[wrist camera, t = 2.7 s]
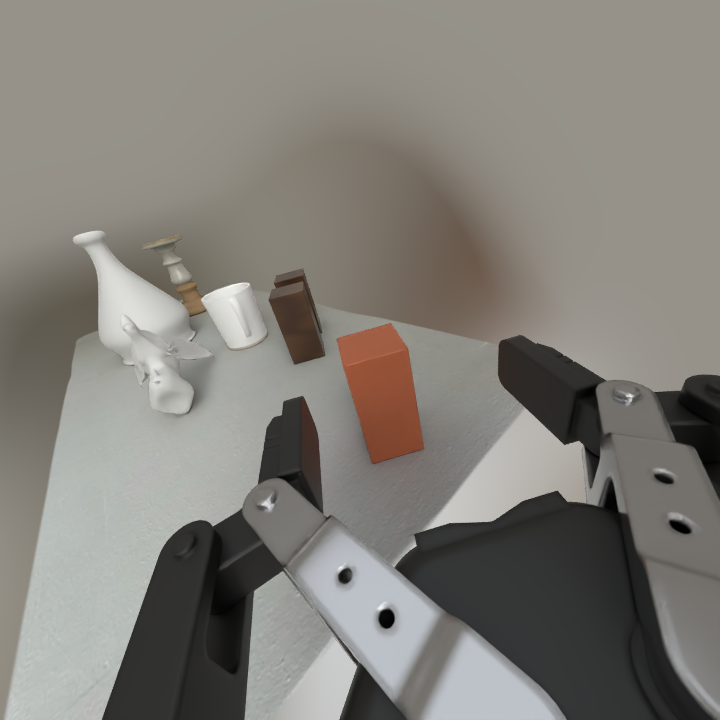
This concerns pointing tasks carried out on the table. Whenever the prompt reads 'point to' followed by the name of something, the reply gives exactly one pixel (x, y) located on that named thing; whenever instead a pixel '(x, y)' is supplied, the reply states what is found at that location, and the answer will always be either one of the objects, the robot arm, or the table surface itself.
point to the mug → (236, 315)
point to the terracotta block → (382, 391)
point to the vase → (130, 301)
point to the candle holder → (178, 273)
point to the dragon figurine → (162, 366)
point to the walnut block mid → (297, 322)
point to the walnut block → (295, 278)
